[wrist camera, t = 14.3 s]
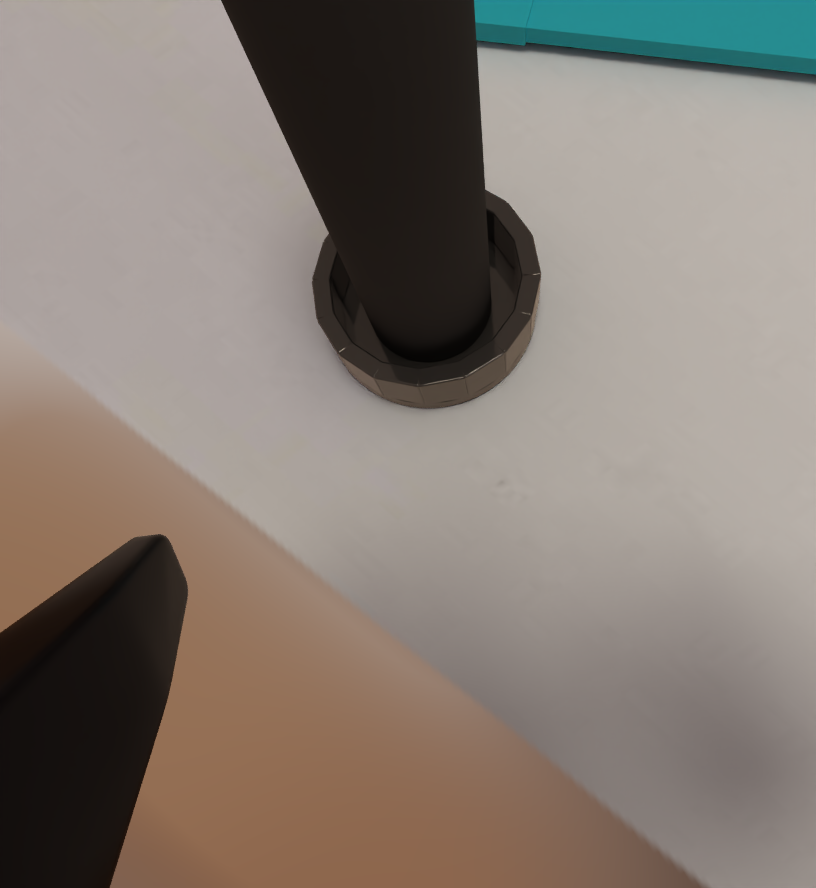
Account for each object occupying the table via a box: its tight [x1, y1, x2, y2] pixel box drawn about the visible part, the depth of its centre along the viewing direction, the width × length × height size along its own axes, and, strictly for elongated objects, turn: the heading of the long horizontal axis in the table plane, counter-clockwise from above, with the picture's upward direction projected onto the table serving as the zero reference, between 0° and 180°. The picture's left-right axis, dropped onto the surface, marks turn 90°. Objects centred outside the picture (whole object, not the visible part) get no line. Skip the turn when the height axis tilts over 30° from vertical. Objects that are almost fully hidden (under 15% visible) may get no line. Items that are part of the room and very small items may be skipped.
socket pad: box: [312, 190, 541, 408], centre depth 24 cm, size 7×7×2 cm
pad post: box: [221, 0, 492, 362], centre depth 15 cm, size 4×4×20 cm
